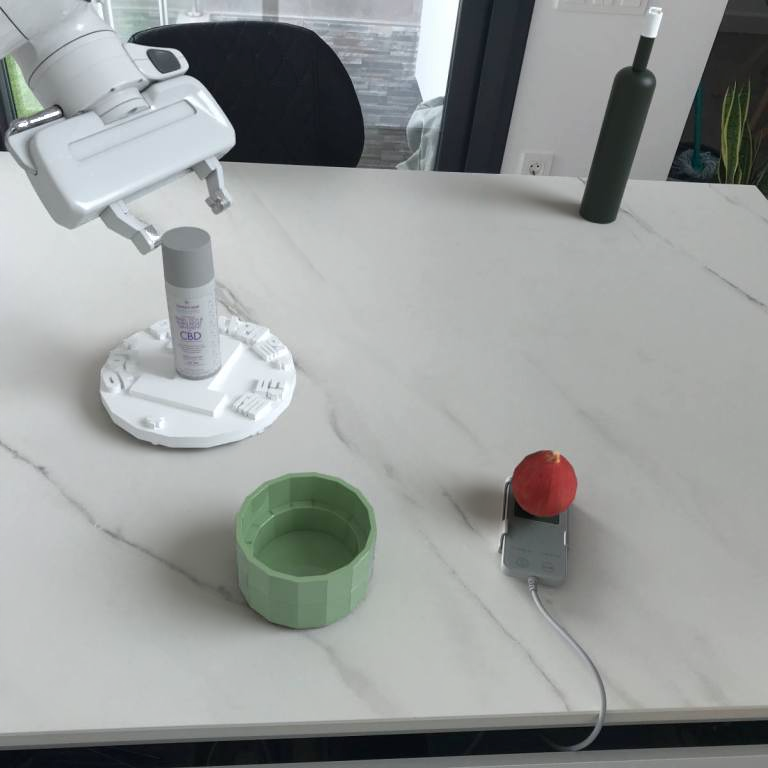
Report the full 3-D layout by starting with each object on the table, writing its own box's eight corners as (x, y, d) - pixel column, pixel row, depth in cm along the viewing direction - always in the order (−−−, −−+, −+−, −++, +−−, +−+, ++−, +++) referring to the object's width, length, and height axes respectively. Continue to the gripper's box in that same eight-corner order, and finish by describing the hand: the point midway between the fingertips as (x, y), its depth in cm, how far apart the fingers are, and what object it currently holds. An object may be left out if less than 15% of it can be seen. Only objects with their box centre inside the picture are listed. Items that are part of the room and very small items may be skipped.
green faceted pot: (313, 657, 59) (314, 607, 55) (211, 580, 64) (205, 530, 60) (396, 566, 66) (403, 516, 62) (299, 503, 71) (299, 453, 67)
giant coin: (62, 393, 80) (56, 370, 78) (202, 312, 93) (200, 291, 91) (199, 485, 72) (197, 463, 70) (332, 382, 85) (333, 361, 83)
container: (183, 385, 78) (167, 255, 68) (169, 358, 81) (153, 230, 71) (227, 373, 80) (219, 245, 70) (212, 348, 83) (202, 222, 73)
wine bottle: (595, 226, 118) (654, 15, 99) (571, 209, 122) (624, 3, 102) (623, 220, 120) (687, 13, 101) (599, 203, 124) (656, 1, 105)
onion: (493, 498, 73) (508, 438, 68) (542, 481, 76) (560, 420, 71) (528, 543, 70) (547, 482, 64) (579, 523, 72) (601, 463, 67)
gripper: (5, 105, 58) (119, 262, 60) (192, 46, 72) (278, 175, 74) (-20, 147, 62) (88, 291, 65) (161, 83, 76) (243, 204, 79)
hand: (191, 228), depth 70 cm, fingers open, 8 cm apart
